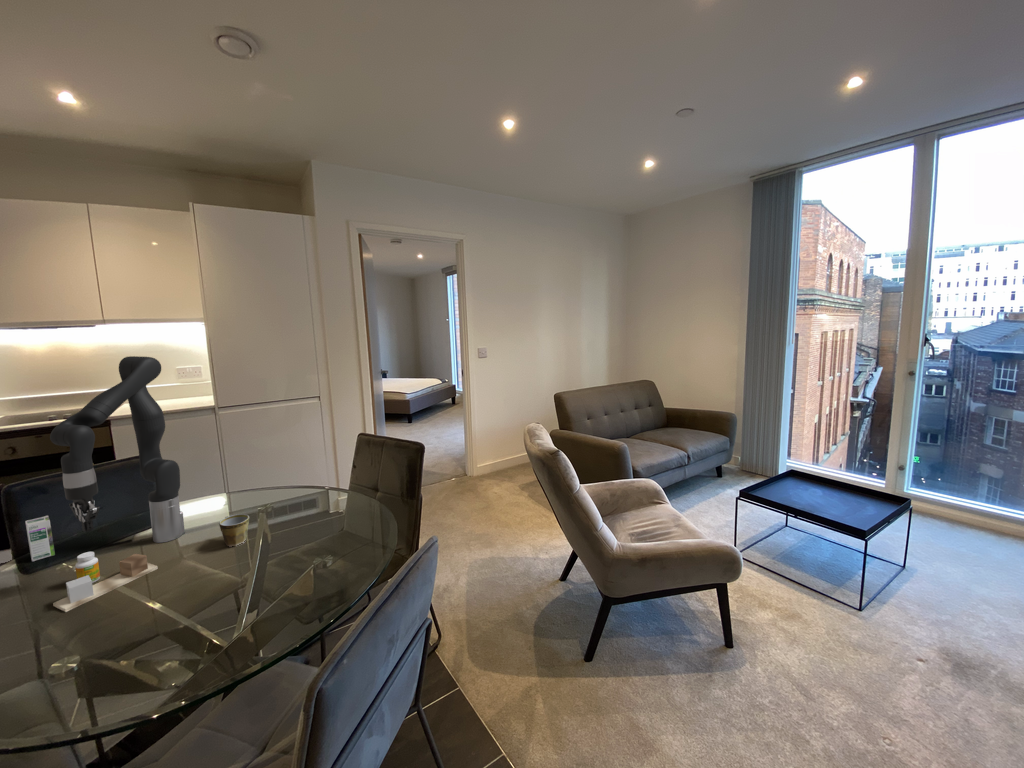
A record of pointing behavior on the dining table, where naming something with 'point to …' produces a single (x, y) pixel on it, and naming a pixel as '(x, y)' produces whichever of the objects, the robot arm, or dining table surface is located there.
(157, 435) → the robot arm
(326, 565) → the dining table surface
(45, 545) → the syrup box
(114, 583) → the birch strip
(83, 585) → the grey block
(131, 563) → the walnut block
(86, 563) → the supplement bottle
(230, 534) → the ceramic cup
